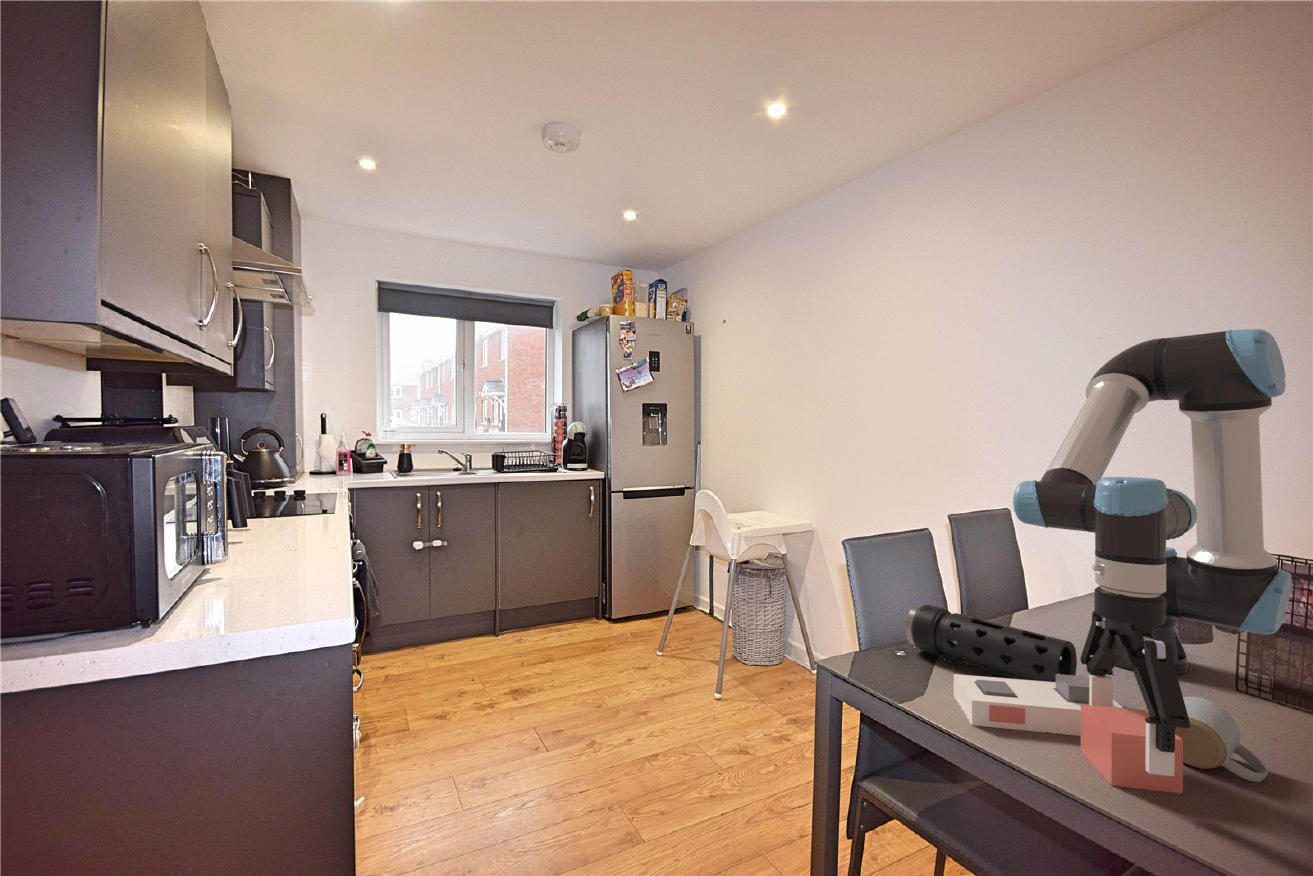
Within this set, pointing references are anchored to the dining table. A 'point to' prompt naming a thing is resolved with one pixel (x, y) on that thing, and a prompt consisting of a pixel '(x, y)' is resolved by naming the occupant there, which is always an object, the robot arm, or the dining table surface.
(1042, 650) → the muzzle brake
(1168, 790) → the salmon red cube
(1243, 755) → the ceramic mug
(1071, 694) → the button plain
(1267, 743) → the dining table surface
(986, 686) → the button tagged
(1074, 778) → the dining table surface
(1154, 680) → the robot arm
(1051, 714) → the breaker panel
